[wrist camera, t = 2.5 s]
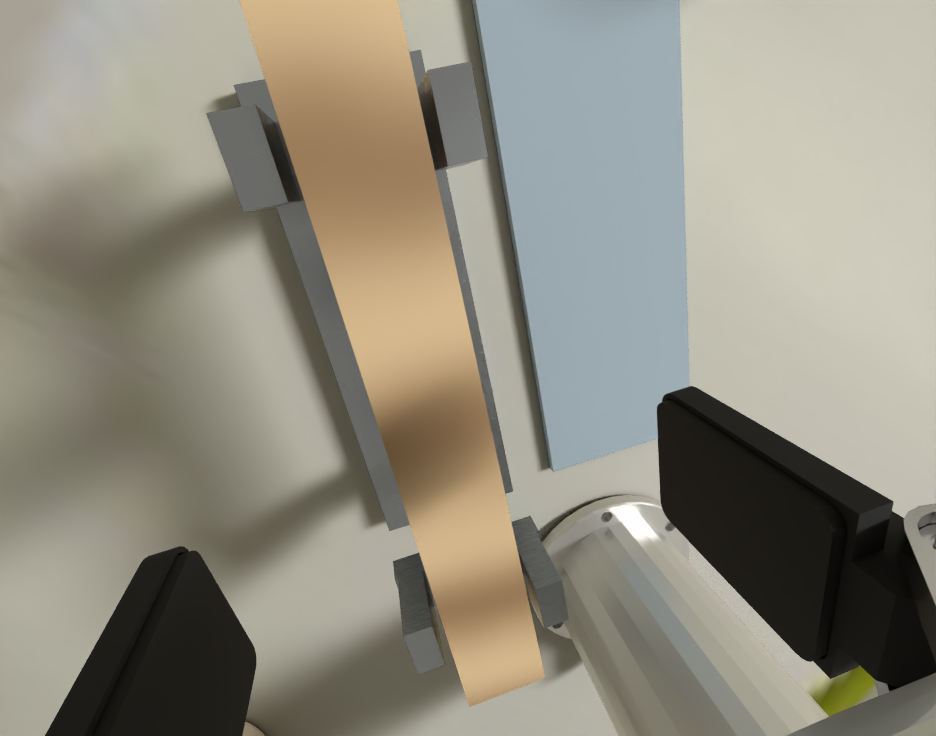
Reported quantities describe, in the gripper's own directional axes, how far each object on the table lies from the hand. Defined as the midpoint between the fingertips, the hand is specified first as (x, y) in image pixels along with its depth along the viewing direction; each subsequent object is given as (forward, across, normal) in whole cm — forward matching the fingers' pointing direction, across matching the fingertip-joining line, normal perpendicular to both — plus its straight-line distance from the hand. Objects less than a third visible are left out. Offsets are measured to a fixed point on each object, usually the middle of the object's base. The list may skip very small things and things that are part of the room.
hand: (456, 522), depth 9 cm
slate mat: (+17, -12, -1) cm, 21 cm away
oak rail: (+5, 0, +1) cm, 5 cm away
